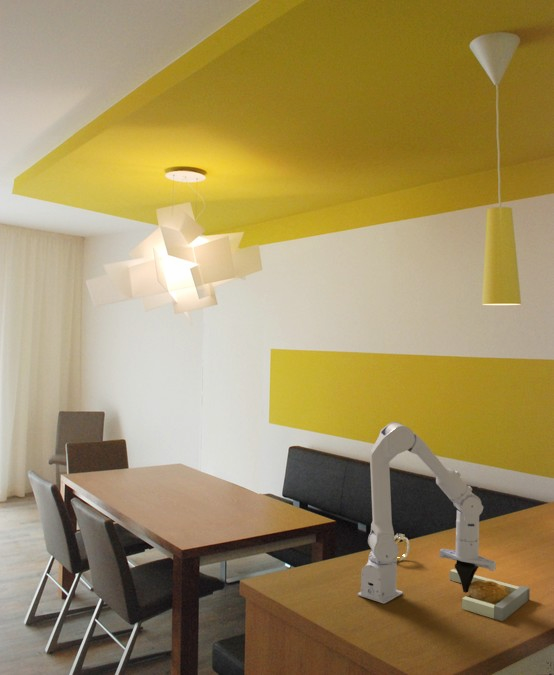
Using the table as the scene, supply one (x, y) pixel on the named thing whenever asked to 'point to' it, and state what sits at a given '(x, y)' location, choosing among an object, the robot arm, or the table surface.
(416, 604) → the table surface
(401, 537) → the ring
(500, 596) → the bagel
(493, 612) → the guide
